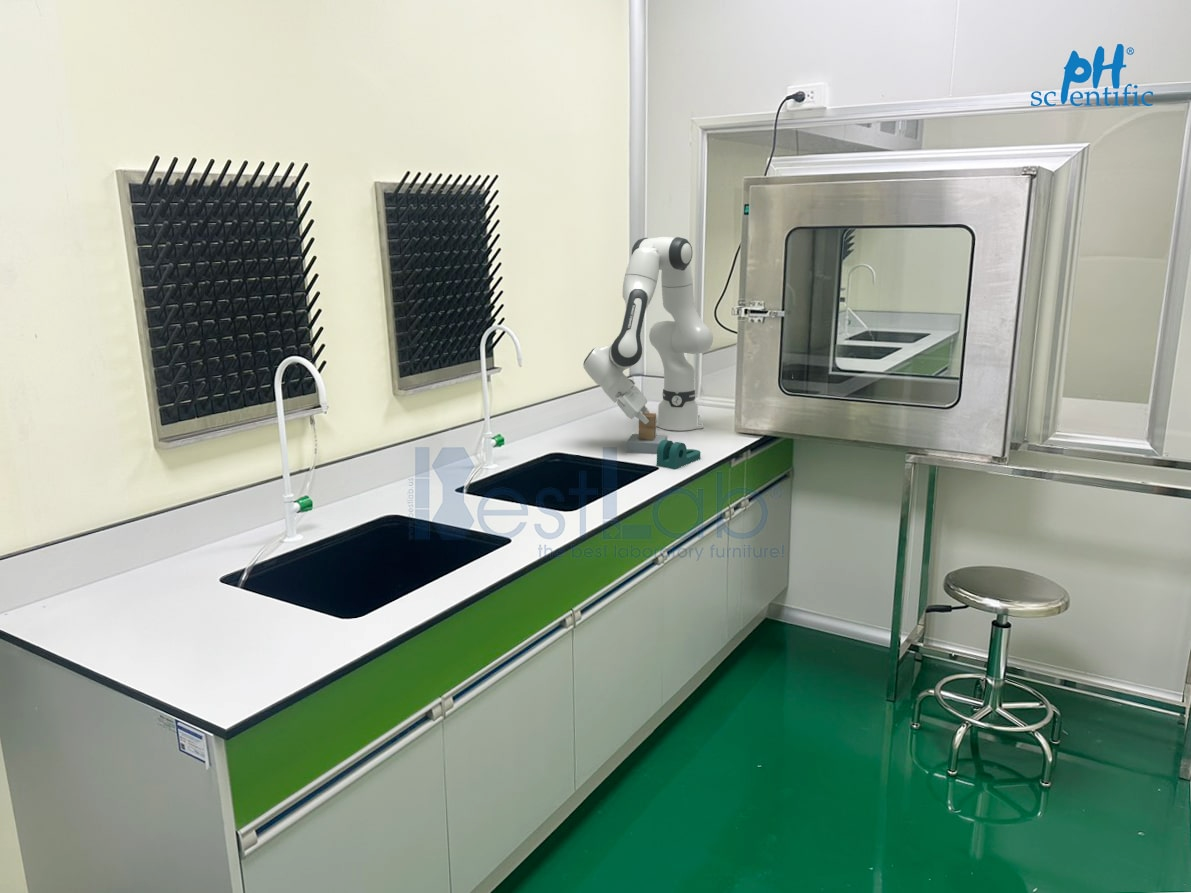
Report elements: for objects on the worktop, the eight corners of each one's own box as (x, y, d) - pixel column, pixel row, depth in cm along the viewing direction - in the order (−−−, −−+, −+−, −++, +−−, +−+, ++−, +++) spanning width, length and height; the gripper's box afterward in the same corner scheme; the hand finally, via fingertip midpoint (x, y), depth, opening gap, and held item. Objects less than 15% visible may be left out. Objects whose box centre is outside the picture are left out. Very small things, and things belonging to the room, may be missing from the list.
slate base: (632, 444, 298) (632, 433, 297) (666, 446, 296) (667, 435, 295) (626, 453, 287) (626, 441, 286) (662, 455, 284) (662, 443, 283)
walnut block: (640, 435, 293) (641, 412, 291) (655, 436, 292) (656, 413, 290) (638, 439, 288) (638, 415, 286) (653, 440, 287) (653, 416, 285)
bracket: (675, 470, 267) (675, 445, 265) (656, 466, 271) (657, 442, 269) (704, 457, 281) (704, 434, 279) (686, 454, 285) (686, 431, 283)
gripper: (621, 389, 277) (651, 420, 278) (632, 378, 297) (660, 408, 297) (607, 402, 279) (637, 433, 280) (620, 391, 299) (647, 420, 299)
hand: (649, 420), depth 289 cm, fingers open, 5 cm apart
